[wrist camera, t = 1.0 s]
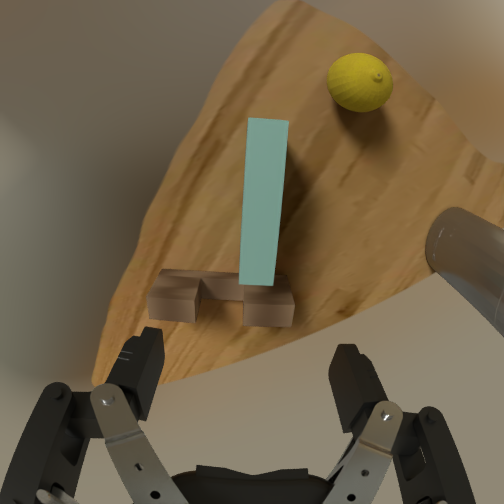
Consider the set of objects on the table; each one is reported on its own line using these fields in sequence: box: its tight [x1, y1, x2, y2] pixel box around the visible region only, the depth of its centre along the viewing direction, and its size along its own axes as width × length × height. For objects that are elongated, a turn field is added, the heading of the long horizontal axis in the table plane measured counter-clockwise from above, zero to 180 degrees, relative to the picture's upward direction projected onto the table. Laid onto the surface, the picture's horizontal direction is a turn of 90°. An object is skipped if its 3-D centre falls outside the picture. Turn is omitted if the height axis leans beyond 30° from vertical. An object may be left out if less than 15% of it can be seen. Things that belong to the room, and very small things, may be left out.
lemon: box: [327, 53, 393, 112], centre depth 20 cm, size 6×6×8 cm
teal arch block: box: [239, 118, 289, 286], centre depth 23 cm, size 12×3×9 cm, turn 176°
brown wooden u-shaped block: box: [146, 269, 295, 327], centre depth 29 cm, size 14×3×6 cm, turn 86°
